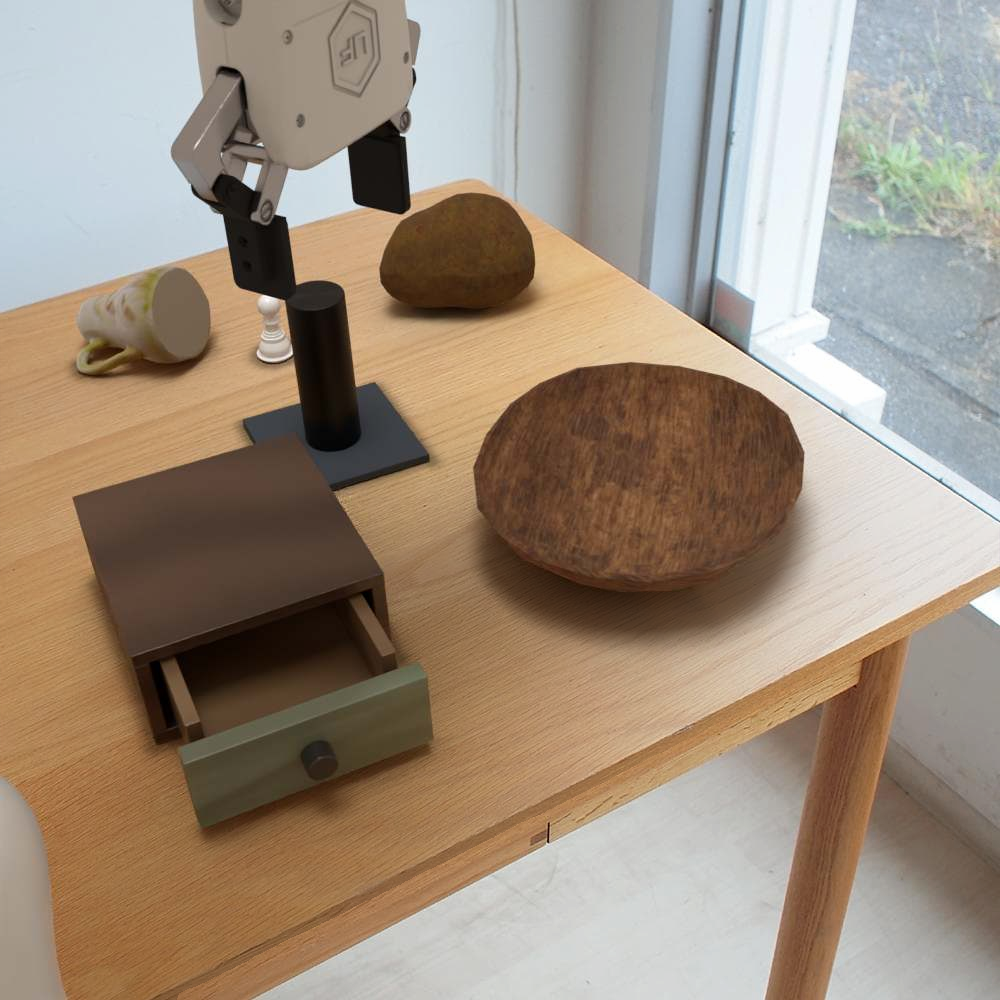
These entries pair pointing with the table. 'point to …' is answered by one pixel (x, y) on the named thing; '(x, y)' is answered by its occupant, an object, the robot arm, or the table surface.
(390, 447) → the mat
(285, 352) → the chess pawn
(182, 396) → the table surface
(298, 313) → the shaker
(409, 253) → the potato
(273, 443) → the cabinet
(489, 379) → the table surface
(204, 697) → the drawer
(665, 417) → the bowl
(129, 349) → the mug
